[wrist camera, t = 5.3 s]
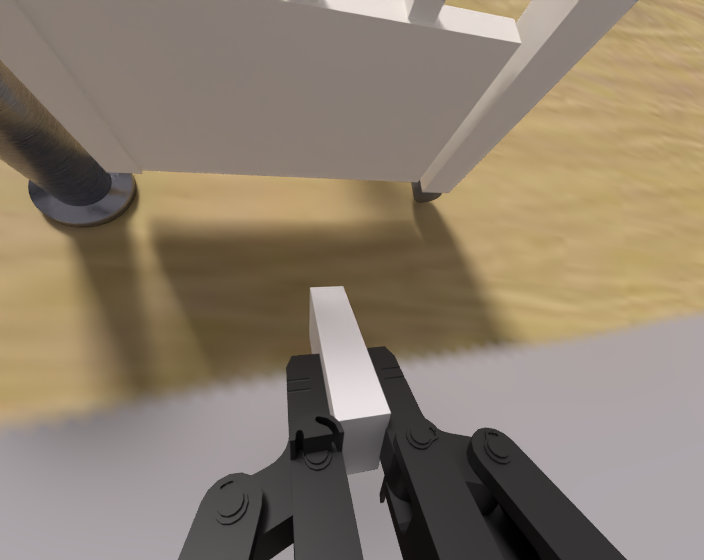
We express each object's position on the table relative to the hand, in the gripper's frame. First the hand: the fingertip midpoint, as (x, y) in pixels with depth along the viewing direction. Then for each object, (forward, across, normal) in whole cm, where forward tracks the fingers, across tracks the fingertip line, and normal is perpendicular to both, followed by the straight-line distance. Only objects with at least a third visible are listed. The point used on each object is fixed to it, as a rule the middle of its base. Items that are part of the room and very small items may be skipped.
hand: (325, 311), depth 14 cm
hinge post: (+10, -13, +3) cm, 17 cm away
